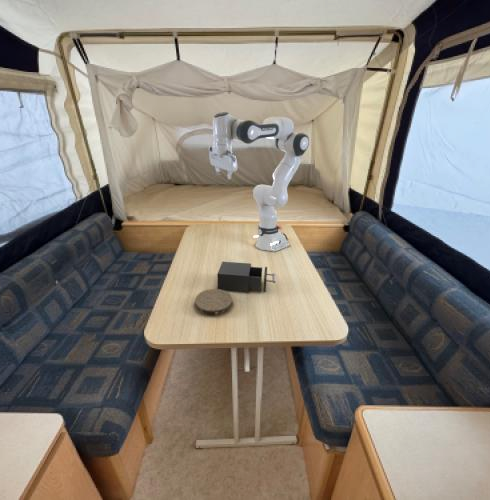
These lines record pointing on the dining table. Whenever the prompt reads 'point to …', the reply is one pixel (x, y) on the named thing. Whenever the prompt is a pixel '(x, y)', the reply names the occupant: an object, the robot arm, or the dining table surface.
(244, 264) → the cabinet
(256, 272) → the drawer
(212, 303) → the round wood slice
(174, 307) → the dining table surface
